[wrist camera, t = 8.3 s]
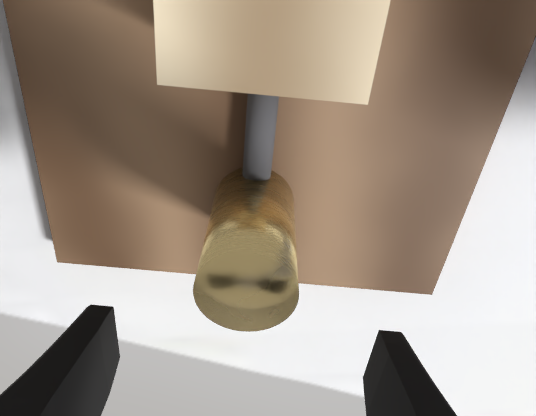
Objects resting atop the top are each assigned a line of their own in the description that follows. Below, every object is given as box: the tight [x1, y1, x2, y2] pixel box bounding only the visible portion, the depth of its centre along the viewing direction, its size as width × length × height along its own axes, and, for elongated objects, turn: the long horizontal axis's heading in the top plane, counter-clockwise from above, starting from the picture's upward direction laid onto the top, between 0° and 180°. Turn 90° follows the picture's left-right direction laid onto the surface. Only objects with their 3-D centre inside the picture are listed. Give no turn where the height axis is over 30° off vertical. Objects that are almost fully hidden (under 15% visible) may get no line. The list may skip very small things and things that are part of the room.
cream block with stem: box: [153, 0, 391, 331], centre depth 12 cm, size 5×12×5 cm, turn 175°
